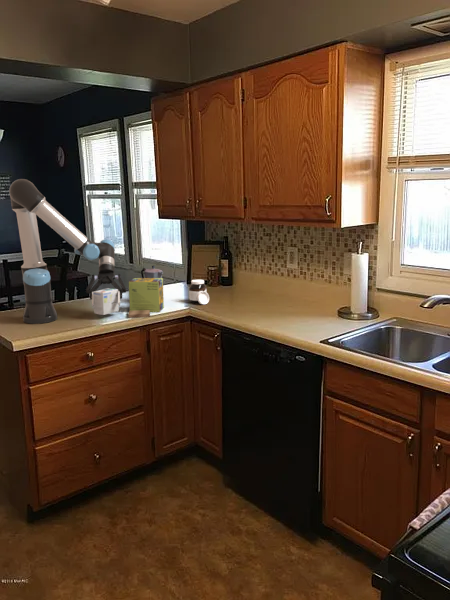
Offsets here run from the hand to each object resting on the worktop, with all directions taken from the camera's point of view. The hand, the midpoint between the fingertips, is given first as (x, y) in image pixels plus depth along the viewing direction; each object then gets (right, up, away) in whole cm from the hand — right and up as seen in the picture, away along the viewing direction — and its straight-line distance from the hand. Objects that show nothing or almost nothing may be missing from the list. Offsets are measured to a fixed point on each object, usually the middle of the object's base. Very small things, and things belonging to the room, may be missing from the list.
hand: (105, 304), depth 249 cm
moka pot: (+18, +1, +33) cm, 38 cm away
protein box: (+17, -3, +16) cm, 24 cm away
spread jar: (+43, 0, +31) cm, 53 cm away
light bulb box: (0, -4, +3) cm, 5 cm away
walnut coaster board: (+15, -5, +5) cm, 17 cm away
